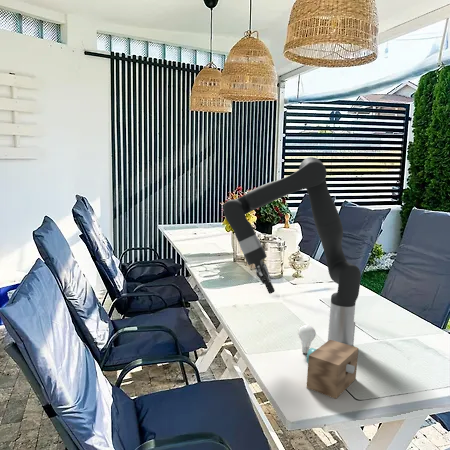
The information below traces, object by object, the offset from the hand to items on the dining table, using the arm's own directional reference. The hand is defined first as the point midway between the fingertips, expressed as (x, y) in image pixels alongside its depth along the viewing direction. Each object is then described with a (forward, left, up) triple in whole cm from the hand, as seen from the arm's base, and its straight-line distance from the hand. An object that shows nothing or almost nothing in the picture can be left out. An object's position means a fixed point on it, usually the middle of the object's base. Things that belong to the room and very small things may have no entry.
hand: (272, 292), depth 163 cm
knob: (-3, +28, -18) cm, 34 cm away
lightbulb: (-11, +8, -23) cm, 27 cm away
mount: (-3, +28, -23) cm, 36 cm away
